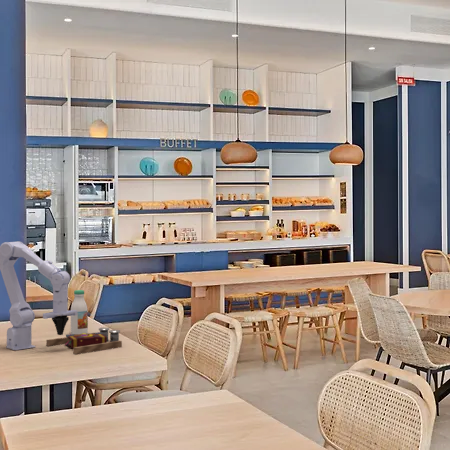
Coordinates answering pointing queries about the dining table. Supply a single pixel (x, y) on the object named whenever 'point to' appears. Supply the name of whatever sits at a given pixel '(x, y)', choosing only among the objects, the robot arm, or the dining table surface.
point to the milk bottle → (79, 314)
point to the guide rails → (85, 348)
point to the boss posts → (113, 334)
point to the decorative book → (85, 339)
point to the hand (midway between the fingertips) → (60, 334)
